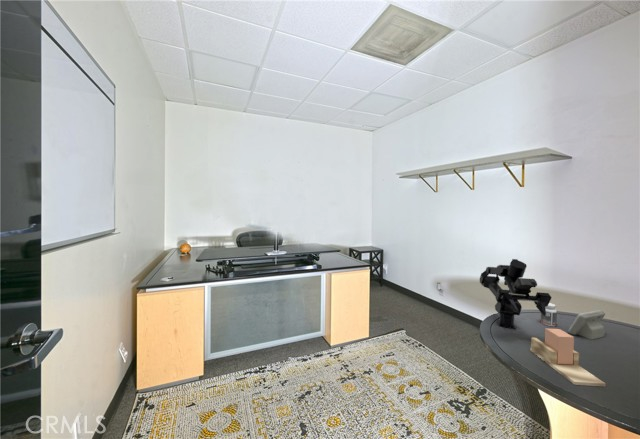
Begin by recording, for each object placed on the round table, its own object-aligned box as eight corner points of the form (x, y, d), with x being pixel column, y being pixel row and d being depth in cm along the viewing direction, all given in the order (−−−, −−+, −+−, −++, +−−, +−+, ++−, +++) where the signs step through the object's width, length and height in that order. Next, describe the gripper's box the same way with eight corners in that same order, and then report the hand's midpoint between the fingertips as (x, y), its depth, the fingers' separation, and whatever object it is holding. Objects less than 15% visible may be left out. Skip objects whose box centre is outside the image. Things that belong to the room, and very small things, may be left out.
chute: (530, 350, 99) (530, 337, 99) (555, 351, 99) (555, 338, 98) (574, 384, 81) (575, 368, 80) (605, 386, 80) (606, 369, 79)
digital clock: (590, 328, 118) (592, 306, 117) (615, 338, 109) (616, 315, 108) (560, 330, 116) (561, 308, 116) (582, 340, 107) (583, 316, 107)
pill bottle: (551, 322, 124) (552, 302, 124) (559, 327, 119) (560, 307, 118) (538, 320, 126) (538, 301, 125) (544, 325, 120) (545, 305, 120)
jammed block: (544, 353, 95) (545, 328, 95) (558, 354, 95) (559, 329, 94) (557, 363, 89) (558, 336, 89) (572, 364, 89) (574, 337, 88)
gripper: (495, 270, 112) (509, 297, 99) (545, 273, 107) (567, 302, 94) (490, 288, 117) (502, 315, 104) (537, 292, 112) (556, 321, 99)
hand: (531, 313), depth 100 cm, fingers open, 9 cm apart
